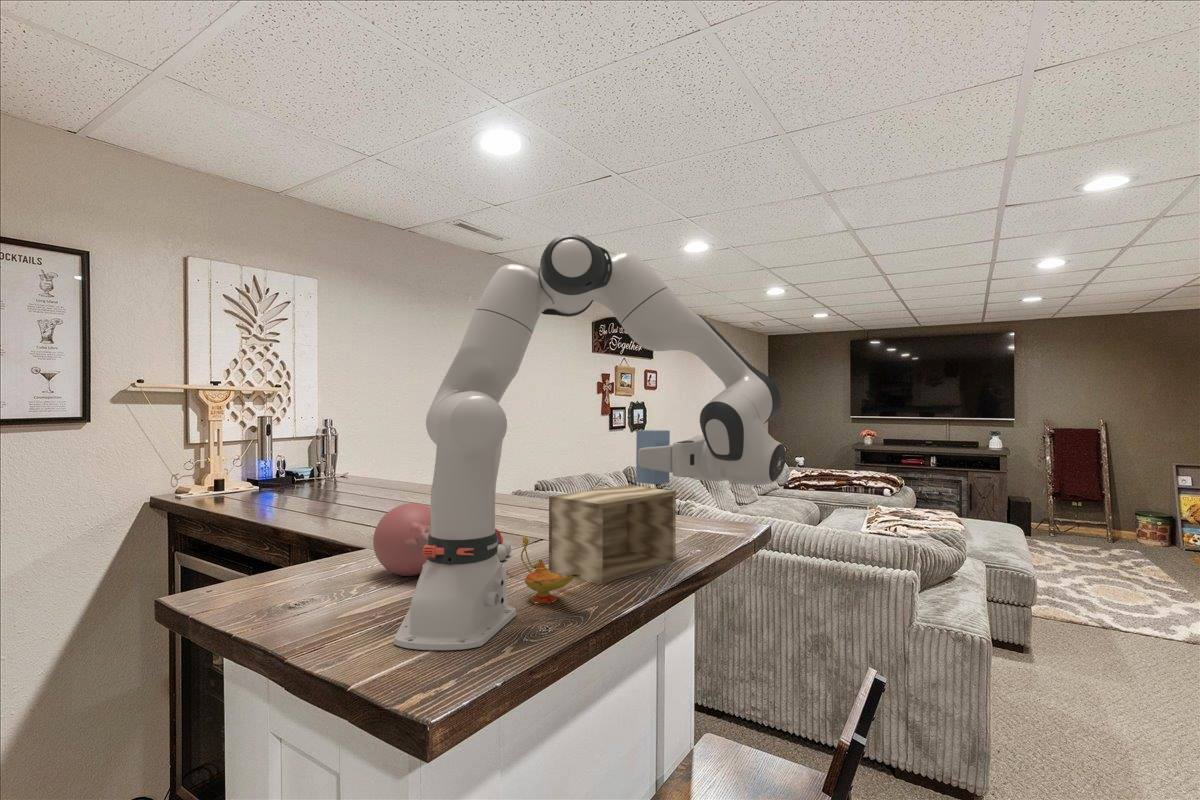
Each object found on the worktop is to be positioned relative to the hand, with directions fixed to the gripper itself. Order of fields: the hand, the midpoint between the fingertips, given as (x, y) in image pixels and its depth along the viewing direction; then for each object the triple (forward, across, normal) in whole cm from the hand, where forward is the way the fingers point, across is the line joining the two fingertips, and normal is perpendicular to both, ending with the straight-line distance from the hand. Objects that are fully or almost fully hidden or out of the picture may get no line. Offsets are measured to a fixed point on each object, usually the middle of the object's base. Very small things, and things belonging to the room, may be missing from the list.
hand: (649, 453), depth 125 cm
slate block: (-1, 0, +6) cm, 6 cm away
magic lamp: (+4, +24, +27) cm, 37 cm away
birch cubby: (+10, 0, +26) cm, 28 cm away
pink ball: (+37, +34, +27) cm, 57 cm away
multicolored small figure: (+38, +13, +27) cm, 48 cm away
